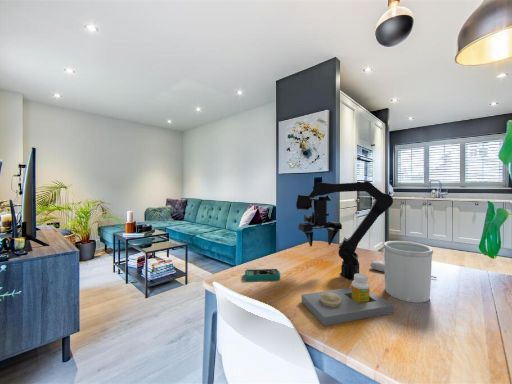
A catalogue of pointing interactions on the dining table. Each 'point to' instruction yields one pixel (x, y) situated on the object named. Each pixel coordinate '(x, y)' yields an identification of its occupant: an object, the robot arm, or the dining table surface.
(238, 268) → the dining table surface
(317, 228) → the robot arm
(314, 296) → the plate
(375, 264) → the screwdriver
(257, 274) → the digital multimeter
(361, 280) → the supplement bottle
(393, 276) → the utensil holder
